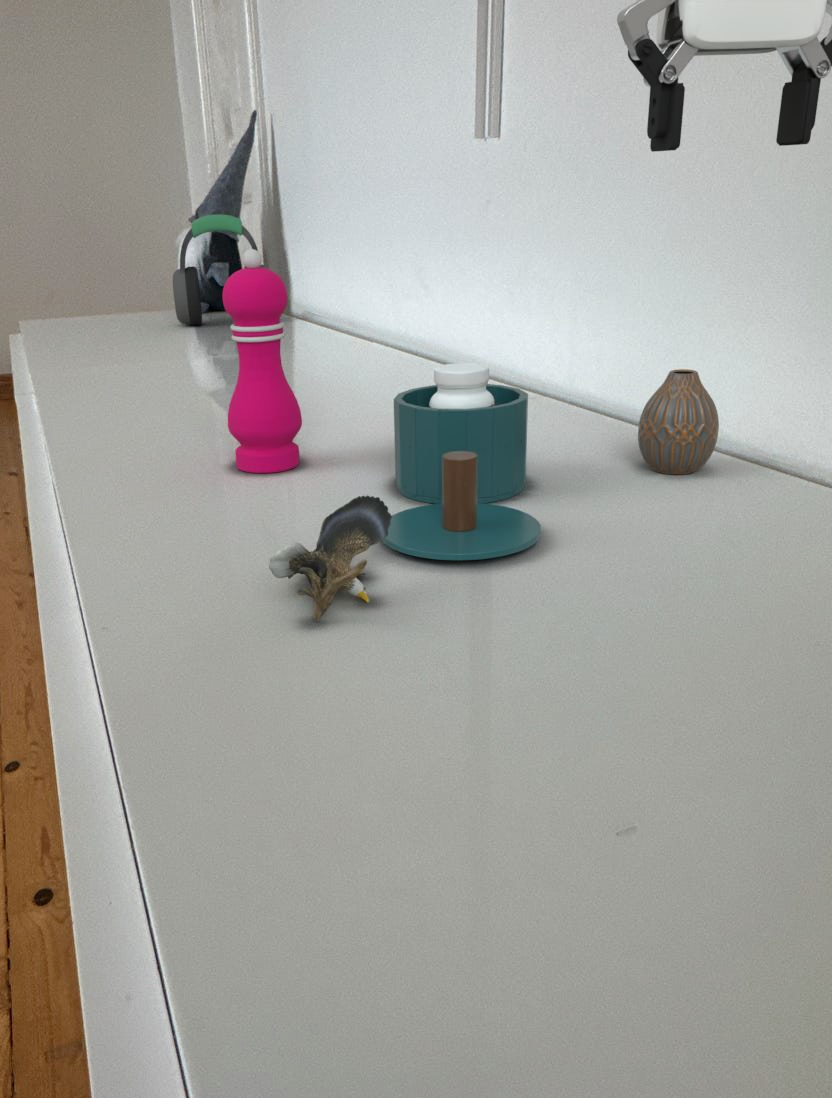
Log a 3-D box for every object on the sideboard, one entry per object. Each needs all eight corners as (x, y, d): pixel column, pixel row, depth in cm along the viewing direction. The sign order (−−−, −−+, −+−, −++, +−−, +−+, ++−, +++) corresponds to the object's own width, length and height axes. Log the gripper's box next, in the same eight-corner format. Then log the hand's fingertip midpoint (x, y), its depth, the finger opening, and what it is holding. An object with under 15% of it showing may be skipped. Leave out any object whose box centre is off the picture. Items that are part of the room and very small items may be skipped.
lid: (510, 509, 83) (512, 430, 80) (564, 558, 72) (569, 468, 69) (366, 523, 81) (363, 443, 78) (399, 576, 70) (397, 485, 67)
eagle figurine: (404, 609, 62) (417, 536, 69) (335, 524, 59) (356, 457, 66) (310, 660, 65) (331, 585, 72) (239, 581, 62) (269, 512, 70)
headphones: (271, 317, 205) (264, 211, 197) (274, 324, 196) (266, 213, 187) (179, 322, 204) (167, 216, 195) (177, 329, 194) (164, 218, 185)
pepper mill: (237, 457, 102) (217, 248, 94) (307, 454, 102) (294, 244, 94) (226, 476, 96) (205, 253, 87) (301, 473, 95) (287, 250, 87)
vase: (669, 483, 87) (679, 382, 84) (619, 466, 93) (626, 370, 90) (730, 472, 90) (742, 372, 86) (678, 455, 96) (687, 361, 92)
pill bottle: (507, 480, 89) (510, 366, 84) (457, 493, 86) (457, 376, 82) (465, 468, 93) (466, 359, 89) (416, 480, 90) (415, 367, 86)
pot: (501, 464, 96) (503, 379, 92) (543, 497, 85) (546, 403, 82) (385, 475, 94) (382, 389, 90) (413, 510, 84) (411, 415, 80)
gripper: (848, -138, 67) (810, 144, 75) (606, -138, 65) (591, 154, 72) (925, -174, 61) (875, 140, 68) (658, -175, 58) (636, 151, 65)
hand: (728, 147), depth 70 cm, fingers open, 9 cm apart
